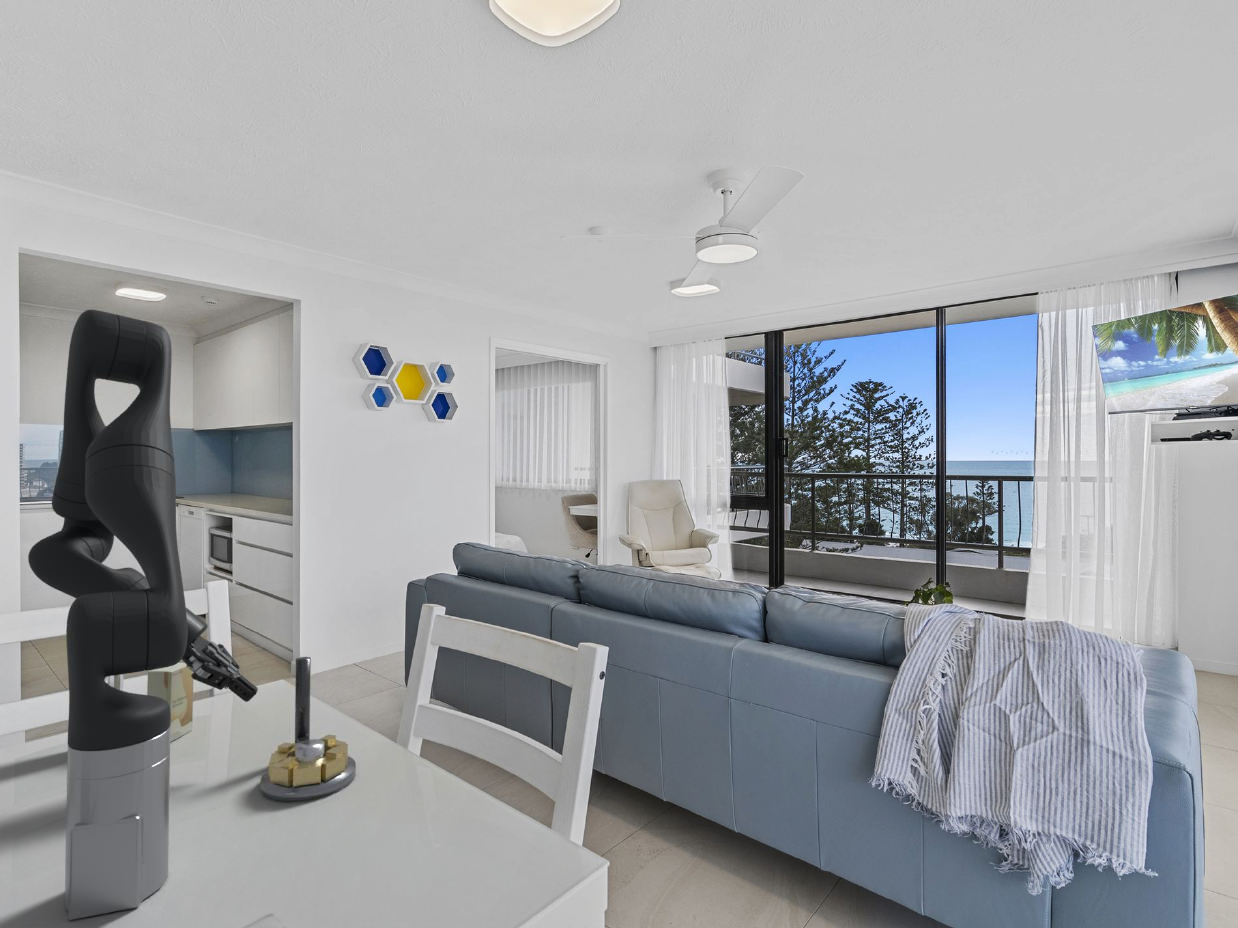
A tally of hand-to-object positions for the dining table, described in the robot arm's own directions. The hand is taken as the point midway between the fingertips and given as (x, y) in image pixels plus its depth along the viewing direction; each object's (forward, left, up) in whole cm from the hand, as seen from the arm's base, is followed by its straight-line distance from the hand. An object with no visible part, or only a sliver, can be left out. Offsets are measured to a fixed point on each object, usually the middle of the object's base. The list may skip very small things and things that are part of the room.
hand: (253, 695), depth 106 cm
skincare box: (+17, +15, -11) cm, 25 cm away
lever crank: (-7, -9, -9) cm, 15 cm away
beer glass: (+15, +25, -11) cm, 31 cm away
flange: (-10, -9, -11) cm, 17 cm away
